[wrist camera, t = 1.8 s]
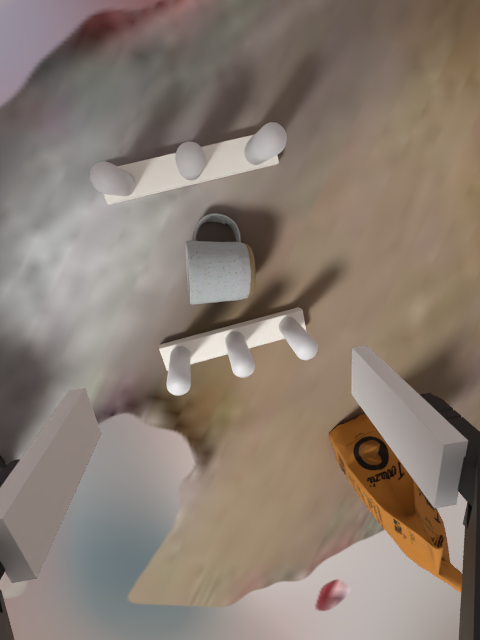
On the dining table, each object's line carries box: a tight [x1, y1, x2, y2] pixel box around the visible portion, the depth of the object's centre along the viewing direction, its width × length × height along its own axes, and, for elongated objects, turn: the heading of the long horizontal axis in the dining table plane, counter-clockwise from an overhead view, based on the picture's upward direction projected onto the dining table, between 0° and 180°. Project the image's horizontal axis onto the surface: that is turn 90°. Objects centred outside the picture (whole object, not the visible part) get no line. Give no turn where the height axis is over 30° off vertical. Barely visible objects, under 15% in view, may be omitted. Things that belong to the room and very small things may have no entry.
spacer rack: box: [90, 122, 318, 395], centre depth 38 cm, size 21×27×10 cm
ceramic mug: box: [186, 213, 256, 304], centre depth 39 cm, size 11×8×8 cm
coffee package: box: [329, 414, 462, 592], centre depth 48 cm, size 10×12×22 cm
